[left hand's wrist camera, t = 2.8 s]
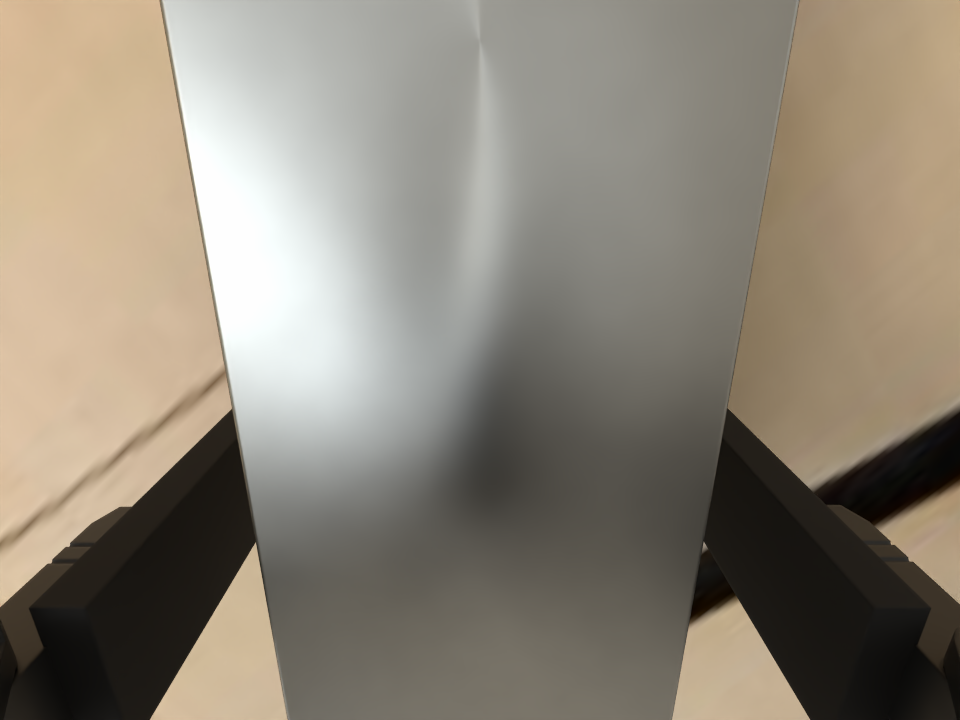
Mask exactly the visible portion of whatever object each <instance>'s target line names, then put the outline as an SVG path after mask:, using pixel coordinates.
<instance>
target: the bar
mask: <svg viewBox="0 0 960 720" xmlns="http://www.w3.org/2000/svg"><path fill="white" fill-rule="evenodd" d="M799 1H800V0H160V6H161V11H162V17H163V23H164V28H165V34H166V39H167V45H168V51H169V56H170V62H171V67H172V73H173V79H174V84H175V90H176V96H177V101H178V107H179V112H180V118H181V124H182V129H183V135H184V140H185V146H186V152H187V157H188V163H189V169H190V174H191V180H192V185H193V191H194V197H195V202H196V208H197V213H198V219H199V225H200V230H201V236H202V242H203V247H204V253H205V258H206V264H207V270H208V275H209V281H210V286H211V292H212V298H213V303H214V309H215V315H216V320H217V326H218V331H219V337H220V343H221V348H222V354H223V360H224V365H225V371H226V376H227V382H228V388H229V393H230V399H231V404H232V410H233V416H234V421H235V427H236V433H237V438H238V444H239V449H240V455H241V461H242V466H243V472H244V477H245V483H246V489H247V494H248V500H249V506H250V511H251V517H252V522H253V528H254V534H255V539H256V545H257V550H258V556H259V562H260V567H261V573H262V579H263V584H264V590H265V595H266V601H267V607H268V612H269V618H270V623H271V629H272V635H273V640H274V646H275V652H276V657H277V663H278V668H279V674H280V680H281V685H282V691H283V697H284V702H285V708H286V713H287V719H288V720H672V716H673V711H674V705H675V699H676V694H677V688H678V682H679V677H680V671H681V666H682V660H683V654H684V649H685V643H686V637H687V632H688V626H689V621H690V615H691V609H692V604H693V598H694V592H695V587H696V581H697V575H698V570H699V564H700V559H701V553H702V547H703V542H704V536H705V530H706V525H707V519H708V513H709V508H710V502H711V497H712V491H713V485H714V480H715V474H716V468H717V463H718V457H719V452H720V446H721V440H722V435H723V429H724V423H725V418H726V412H727V406H728V401H729V395H730V390H731V384H732V378H733V373H734V367H735V361H736V356H737V350H738V345H739V339H740V333H741V328H742V322H743V316H744V311H745V305H746V299H747V294H748V288H749V283H750V277H751V271H752V266H753V260H754V254H755V249H756V243H757V237H758V232H759V226H760V221H761V215H762V209H763V204H764V198H765V192H766V187H767V181H768V176H769V170H770V164H771V159H772V153H773V147H774V142H775V136H776V130H777V125H778V119H779V114H780V108H781V102H782V97H783V91H784V85H785V80H786V74H787V68H788V63H789V57H790V52H791V46H792V40H793V35H794V29H795V23H796V18H797V12H798V7H799Z"/></svg>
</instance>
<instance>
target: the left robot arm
mask: <svg viewBox="0 0 960 720" xmlns="http://www.w3.org/2000/svg"><path fill="white" fill-rule="evenodd" d="M255 542H256V539H255V534H254V528H253V522H252V517H251V511H250V506H249V500H248V494H247V489H246V483H245V477H244V472H243V466H242V461H241V455H240V449H239V444H238V438H237V433H236V427H235V421H234V416H233V410H232V409H231V410H230V411H229V412H228V413H227V414H226V415H225V416H224V417H223V418H222V419H221V420H220V421H219V422H218V423H217V424H216V425H215V426H214V427H213V428H212V429H211V430H210V431H209V432H208V433H207V434H206V435H205V436H204V437H203V438H202V439H201V440H200V441H199V442H198V443H197V444H196V445H195V446H194V447H193V448H192V449H191V450H190V451H189V452H187V453H186V454H185V455H184V456H183V457H182V458H181V459H180V460H179V461H178V462H177V463H176V464H175V465H174V466H173V467H172V468H171V469H170V470H169V471H168V472H167V473H166V474H165V475H164V476H163V477H162V478H161V479H160V480H159V481H158V482H157V483H156V484H155V485H154V486H153V487H152V488H151V489H150V490H149V491H148V492H147V493H146V494H145V495H144V496H143V497H142V498H140V499H139V500H138V501H137V502H136V503H135V504H134V505H133V506H132V507H119V508H117V509H116V510H114V511H112V512H110V513H109V514H107V515H105V516H104V517H102V518H100V519H98V520H97V521H95V522H93V523H92V524H90V525H89V526H88V527H87V528H86V529H85V530H84V531H83V532H82V533H81V534H80V535H78V536H77V537H76V538H75V539H74V540H73V541H72V542H71V543H70V547H65V548H64V549H63V550H62V551H61V552H60V553H59V554H58V555H57V556H56V557H55V558H53V559H52V563H51V564H47V565H46V566H45V567H44V568H43V569H41V570H40V571H39V572H38V573H37V574H36V575H35V576H34V577H33V578H32V579H31V580H30V581H28V582H27V583H26V584H25V585H24V586H23V587H22V588H21V589H20V590H19V591H18V592H16V593H15V594H14V595H13V596H12V597H11V598H10V599H9V600H8V601H7V602H6V603H5V604H3V605H2V606H1V607H0V720H150V718H151V717H152V715H153V713H154V712H155V710H156V708H157V707H158V705H159V703H160V702H161V700H162V698H163V696H164V695H165V693H166V691H167V690H168V688H169V686H170V685H171V683H172V681H173V680H174V678H175V676H176V675H177V673H178V671H179V670H180V668H181V666H182V665H183V663H184V661H185V660H186V658H187V656H188V655H189V653H190V651H191V650H192V648H193V646H194V645H195V643H196V641H197V640H198V638H199V636H200V634H201V633H202V631H203V629H204V628H205V626H206V624H207V623H208V621H209V619H210V618H211V616H212V614H213V613H214V611H215V609H216V608H217V606H218V604H219V603H220V601H221V599H222V598H223V596H224V594H225V593H226V591H227V589H228V588H229V586H230V584H231V583H232V581H233V579H234V578H235V576H236V574H237V572H238V571H239V569H240V567H241V566H242V564H243V562H244V561H245V559H246V557H247V556H248V554H249V552H250V551H251V549H252V547H253V546H254V544H255ZM704 542H705V544H706V546H707V547H708V549H709V551H710V552H711V554H712V556H713V557H714V559H715V561H716V562H717V564H718V566H719V567H720V569H721V571H722V573H723V574H724V576H725V578H726V579H727V581H728V583H729V584H730V586H731V588H732V589H733V591H734V593H735V594H736V596H737V598H738V599H739V601H740V603H741V604H742V606H743V608H744V609H745V611H746V613H747V614H748V616H749V618H750V619H751V621H752V623H753V624H754V626H755V628H756V629H757V631H758V633H759V635H760V636H761V638H762V640H763V641H764V643H765V645H766V646H767V648H768V650H769V651H770V653H771V655H772V656H773V658H774V660H775V661H776V663H777V665H778V666H779V668H780V670H781V671H782V673H783V675H784V676H785V678H786V680H787V681H788V683H789V685H790V686H791V688H792V690H793V691H794V693H795V695H796V696H797V698H798V700H799V702H800V703H801V705H802V707H803V708H804V710H805V712H806V713H807V715H808V717H809V718H810V720H960V604H959V603H958V602H956V601H955V600H954V599H953V598H952V597H951V596H950V595H949V594H948V593H947V592H945V591H944V590H943V589H942V588H941V587H940V586H939V585H938V584H937V583H936V582H935V581H933V580H932V579H931V578H930V577H929V576H928V575H927V574H926V573H925V572H924V571H922V570H921V569H920V568H919V567H918V566H917V565H916V564H915V563H914V562H909V560H908V557H907V556H906V555H905V554H904V553H903V552H902V551H901V550H899V549H898V548H897V547H896V546H895V545H891V543H890V540H889V539H887V538H886V537H885V536H884V535H883V534H882V533H881V532H880V531H879V530H878V529H877V528H875V527H874V526H873V525H872V524H871V523H870V522H869V521H867V520H865V519H864V518H862V517H860V516H858V515H857V514H855V513H853V512H851V511H850V510H848V509H846V508H845V507H843V506H841V505H826V504H825V503H824V502H823V501H822V500H821V499H820V498H818V497H817V496H816V495H815V494H814V493H813V492H812V491H811V490H810V489H809V488H808V487H807V486H806V485H805V484H804V483H803V482H802V481H801V480H800V479H799V478H798V477H797V476H796V475H795V474H794V473H793V472H792V471H791V470H790V469H789V468H788V467H787V466H786V465H785V464H784V463H783V462H782V461H781V460H780V459H779V458H778V457H777V456H776V455H775V454H774V453H773V452H771V451H770V450H769V449H768V448H767V447H766V446H765V445H764V444H763V443H762V442H761V441H760V440H759V439H758V438H757V437H756V436H755V435H754V434H753V433H752V432H751V431H750V430H749V429H748V428H747V427H746V426H745V425H744V424H743V423H742V422H741V421H740V420H739V419H738V418H737V417H736V416H735V415H734V414H733V413H732V412H731V411H730V410H729V409H728V408H727V412H726V418H725V423H724V429H723V435H722V440H721V446H720V452H719V457H718V463H717V468H716V474H715V480H714V485H713V491H712V497H711V502H710V508H709V513H708V519H707V525H706V530H705V536H704Z"/></svg>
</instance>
